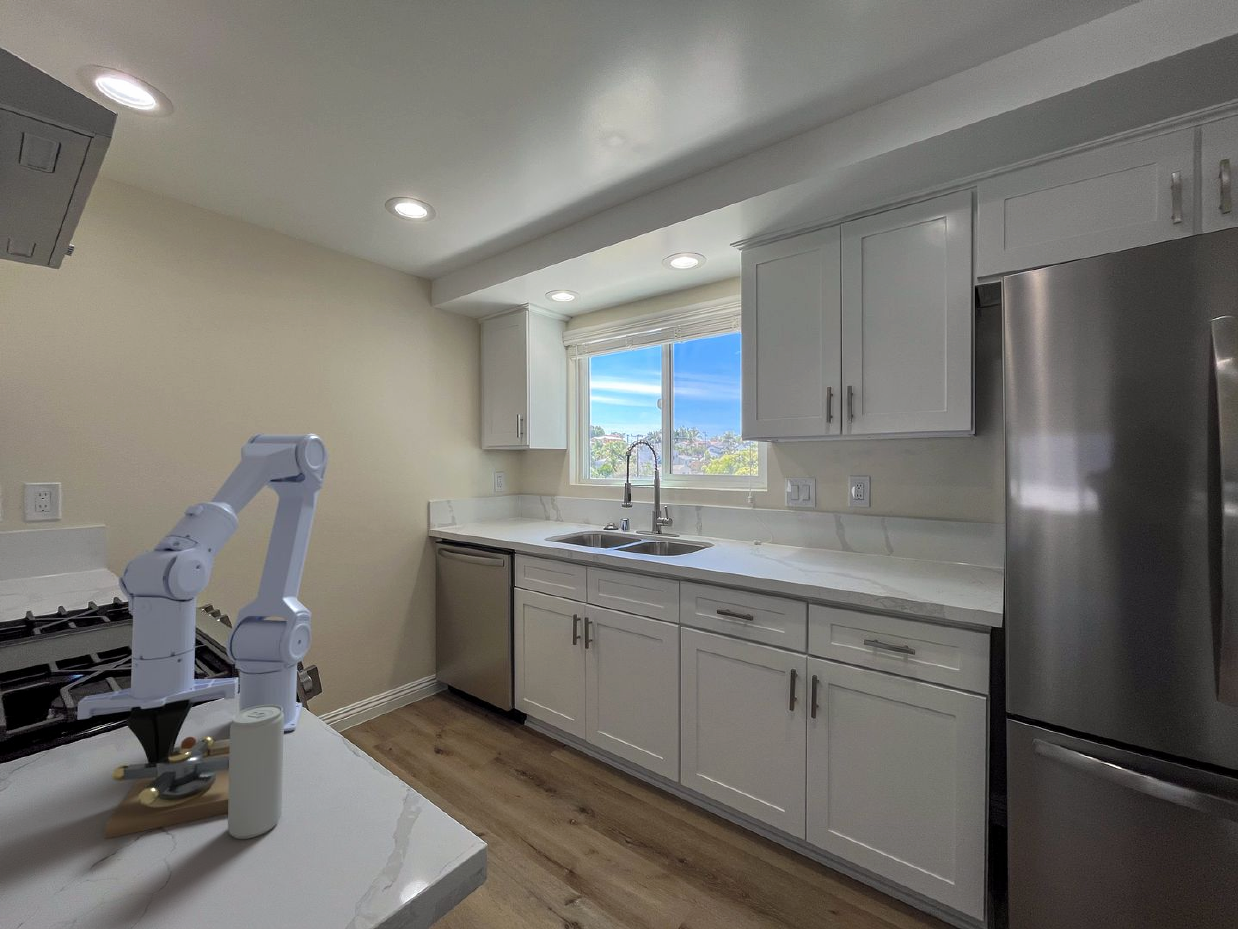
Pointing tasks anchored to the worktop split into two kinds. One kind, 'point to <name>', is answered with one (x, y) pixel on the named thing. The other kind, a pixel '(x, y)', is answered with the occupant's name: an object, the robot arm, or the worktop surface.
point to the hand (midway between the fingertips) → (160, 767)
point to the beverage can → (255, 771)
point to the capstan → (176, 773)
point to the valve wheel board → (172, 811)
